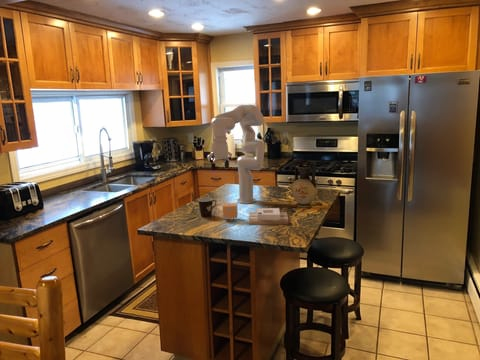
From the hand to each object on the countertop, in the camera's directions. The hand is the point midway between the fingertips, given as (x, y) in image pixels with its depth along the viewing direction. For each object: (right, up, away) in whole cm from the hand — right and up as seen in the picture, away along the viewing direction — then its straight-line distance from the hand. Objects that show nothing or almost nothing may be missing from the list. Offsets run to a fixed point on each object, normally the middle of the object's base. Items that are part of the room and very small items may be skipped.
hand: (220, 169), depth 227 cm
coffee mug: (-8, -28, +9) cm, 31 cm away
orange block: (+6, -30, 0) cm, 30 cm away
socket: (+28, -27, -3) cm, 39 cm away
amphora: (+53, -23, +26) cm, 63 cm away
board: (+28, -29, -3) cm, 41 cm away
